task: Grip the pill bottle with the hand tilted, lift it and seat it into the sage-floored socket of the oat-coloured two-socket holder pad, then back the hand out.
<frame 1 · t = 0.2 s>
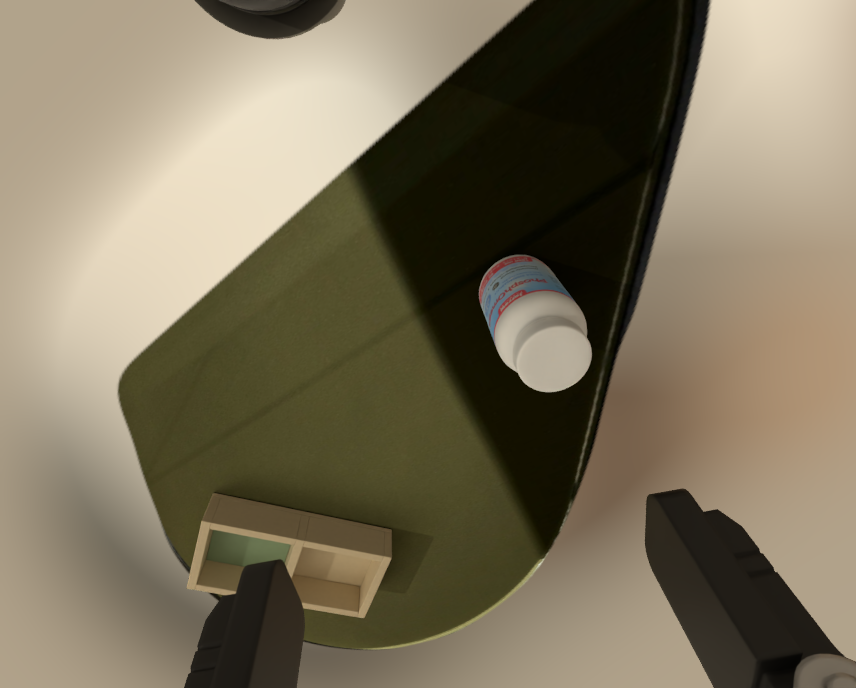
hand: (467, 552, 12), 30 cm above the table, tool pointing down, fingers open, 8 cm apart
pill bottle: (515, 288, 42), on the table
holder: (294, 543, 53), on the table
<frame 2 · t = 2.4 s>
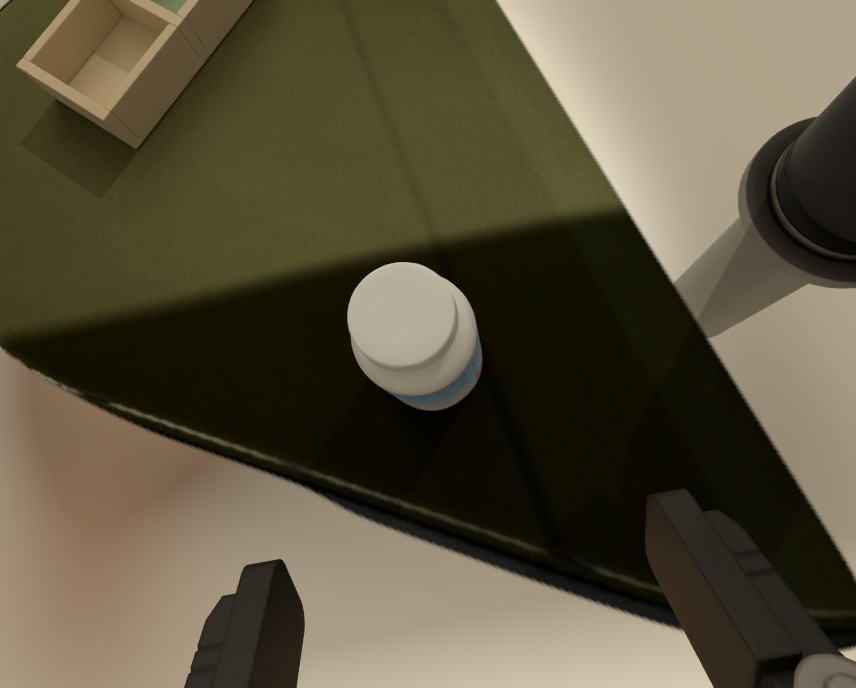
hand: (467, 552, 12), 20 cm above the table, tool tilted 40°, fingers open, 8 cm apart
pill bottle: (433, 362, 33), on the table
holder: (164, 35, 41), on the table
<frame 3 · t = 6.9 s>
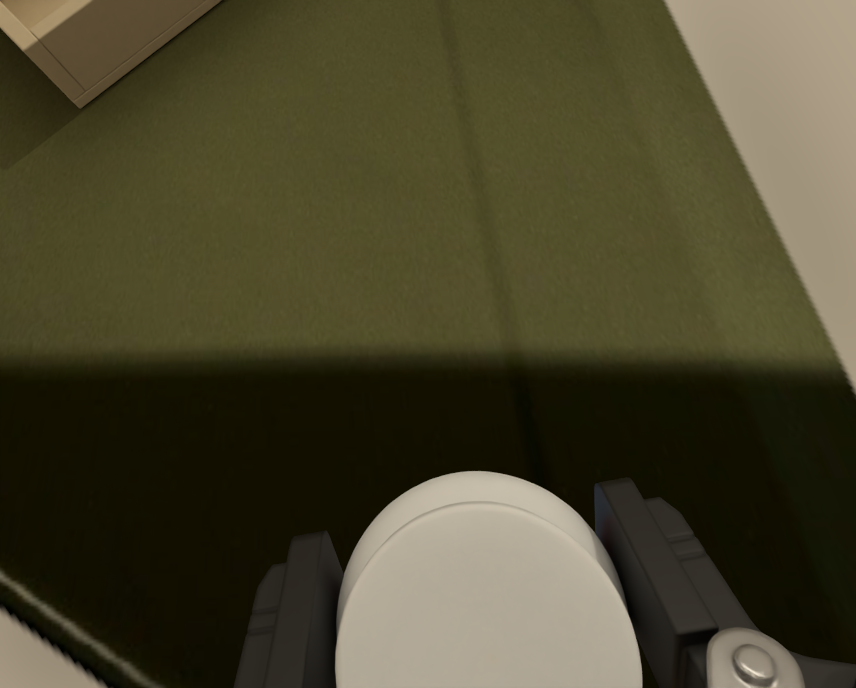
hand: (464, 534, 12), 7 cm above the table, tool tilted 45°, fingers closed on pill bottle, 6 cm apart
pill bottle: (473, 570, 19), on the table, touching gripper
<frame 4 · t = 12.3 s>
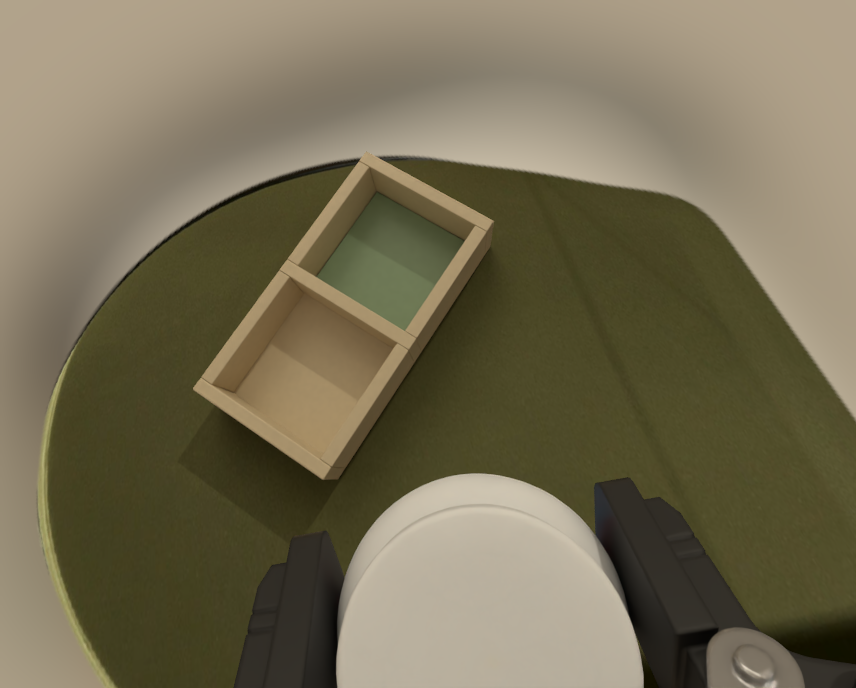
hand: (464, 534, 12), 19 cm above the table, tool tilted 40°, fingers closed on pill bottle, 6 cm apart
pill bottle: (474, 572, 19), point 12 cm above the table, touching gripper
holder: (357, 320, 34), on the table
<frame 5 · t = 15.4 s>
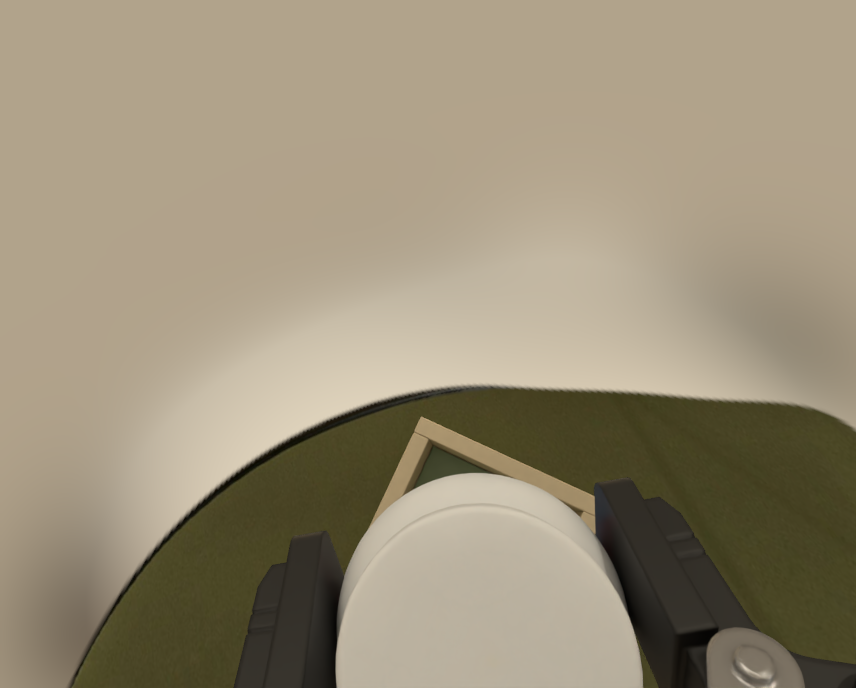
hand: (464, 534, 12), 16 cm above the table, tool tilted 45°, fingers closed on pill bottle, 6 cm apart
pill bottle: (474, 572, 19), point 8 cm above the table, touching gripper
holder: (434, 630, 26), on the table
when the fingers open (8 cm above the table, at t = 18.0 s): pill bottle stays where it is, resting on holder.
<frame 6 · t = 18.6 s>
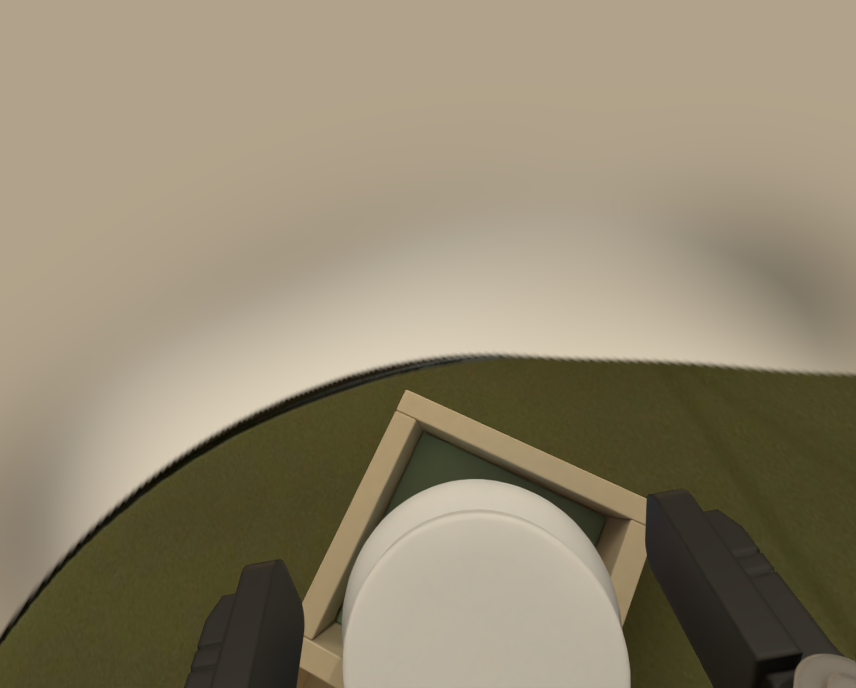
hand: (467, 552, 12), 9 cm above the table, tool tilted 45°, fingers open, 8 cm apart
pill bottle: (473, 572, 19), point 1 cm above the table, touching holder
holder: (424, 679, 19), on the table
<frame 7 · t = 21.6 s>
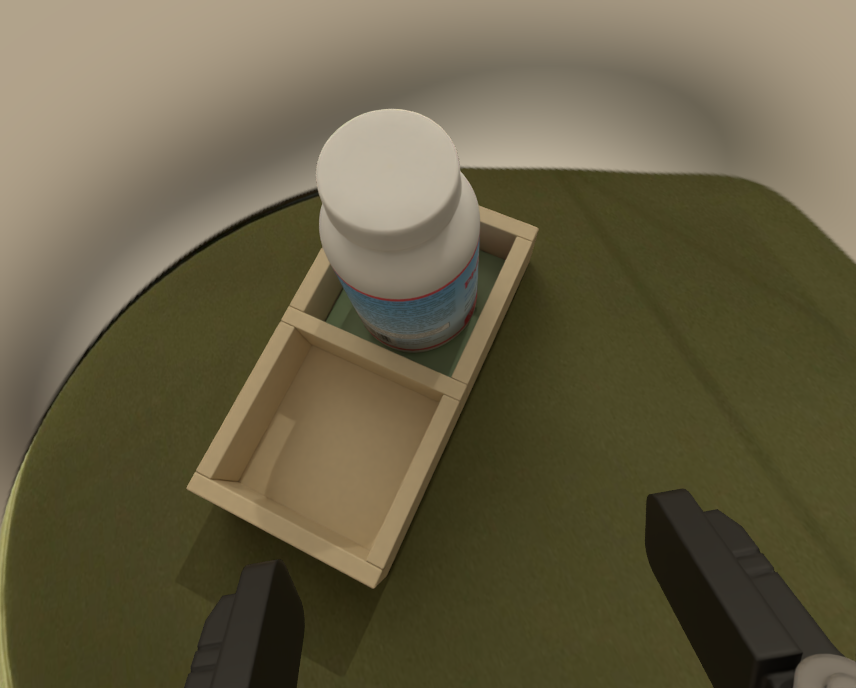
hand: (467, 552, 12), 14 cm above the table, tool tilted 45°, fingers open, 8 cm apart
pill bottle: (417, 300, 28), point 1 cm above the table, touching holder
holder: (382, 370, 27), on the table
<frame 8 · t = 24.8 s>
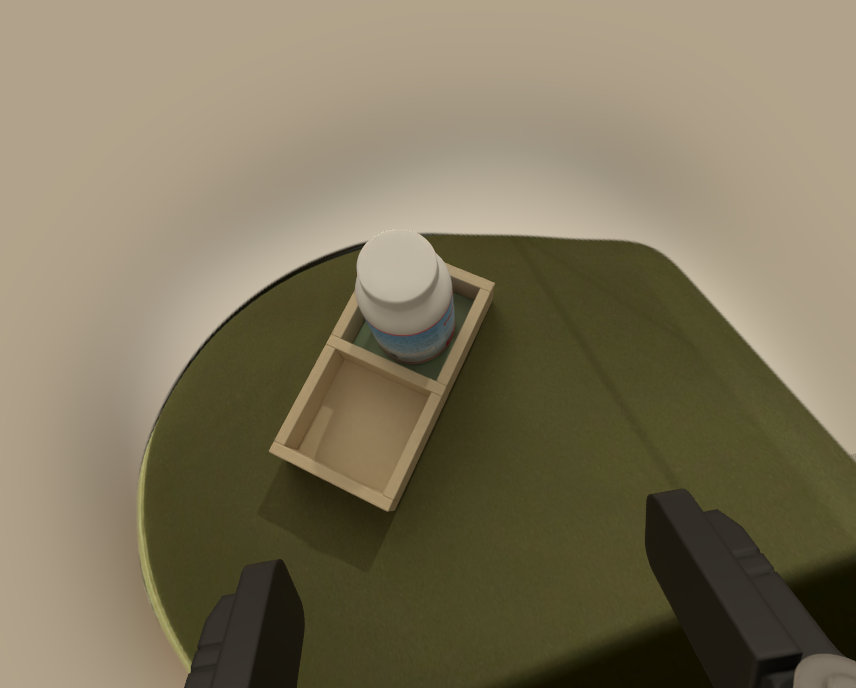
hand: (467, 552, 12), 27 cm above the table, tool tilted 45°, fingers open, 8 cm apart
pill bottle: (415, 328, 41), point 1 cm above the table, touching holder
holder: (391, 375, 40), on the table
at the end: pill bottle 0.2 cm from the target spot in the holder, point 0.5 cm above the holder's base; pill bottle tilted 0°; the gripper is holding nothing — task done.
